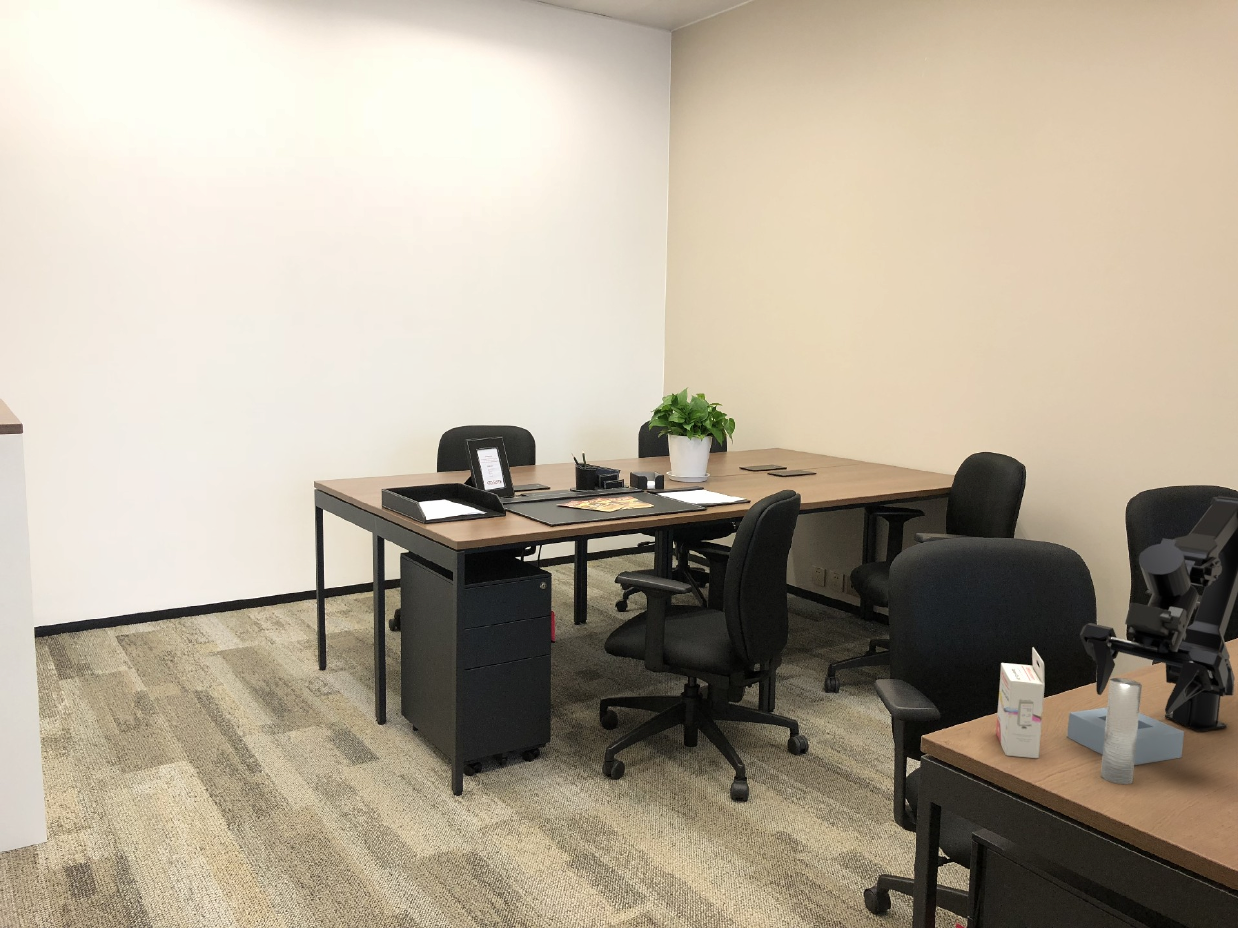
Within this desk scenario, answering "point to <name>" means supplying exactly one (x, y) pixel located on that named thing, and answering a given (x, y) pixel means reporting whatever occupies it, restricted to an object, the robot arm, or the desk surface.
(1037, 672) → the ink cartridge box
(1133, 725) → the silver tall cylinder
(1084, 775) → the desk surface
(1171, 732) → the bracket block
